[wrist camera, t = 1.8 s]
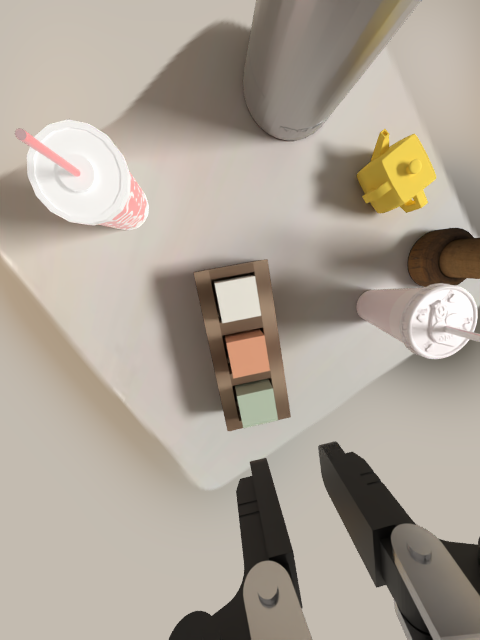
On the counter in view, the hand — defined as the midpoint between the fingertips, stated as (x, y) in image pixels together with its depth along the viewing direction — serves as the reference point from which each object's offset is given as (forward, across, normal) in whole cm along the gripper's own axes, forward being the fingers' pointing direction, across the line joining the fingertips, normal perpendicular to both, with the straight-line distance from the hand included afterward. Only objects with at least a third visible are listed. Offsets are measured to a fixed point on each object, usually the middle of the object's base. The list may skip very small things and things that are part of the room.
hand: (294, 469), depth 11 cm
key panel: (+19, 0, 0) cm, 19 cm away
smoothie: (+19, -16, -1) cm, 25 cm away
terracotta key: (+16, 0, 0) cm, 16 cm away
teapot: (+19, -17, -14) cm, 29 cm away
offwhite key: (+16, 0, -5) cm, 17 cm away
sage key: (+16, 0, +6) cm, 17 cm away
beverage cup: (+19, +9, -16) cm, 27 cm away
